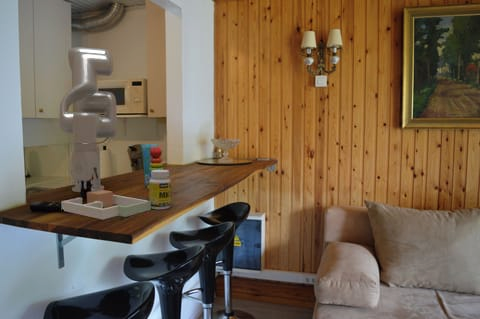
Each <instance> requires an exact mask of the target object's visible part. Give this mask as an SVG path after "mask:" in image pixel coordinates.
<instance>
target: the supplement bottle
mask: <svg viewBox="0 0 480 319" xmlns="http://www.w3.org/2000/svg"><path fill="white" fill-rule="evenodd" d="M151 177H152V179H150V181H149V189H148V193H149V194H148V201H151V210H152V209H153V210H167V209H169V208H171V204H172V203H171V200H172V199H171V198H172V197H171V191H172V190H171V189H172V188H171V187H172V185H171V184H172V182H171V179H170V178H169V177H170V170H168V169H163V170H152V171H151Z"/></svg>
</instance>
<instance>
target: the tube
mask: <svg viewBox="0 0 480 319" xmlns="http://www.w3.org/2000/svg"><path fill="white" fill-rule="evenodd" d="M140 145H141V153H142V154H141V155H142V164H143V175H144V176H143V177H144V178H143V180H144V185H145V187H146V186H147V187H148V185H149V184H148V182H149V179H148V178H149V172H150V171H149V168H150V163H152V162H150V159H151V158H153V157H151V155H150V150H151V148H153V147H159V143H141V144H140Z"/></svg>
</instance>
